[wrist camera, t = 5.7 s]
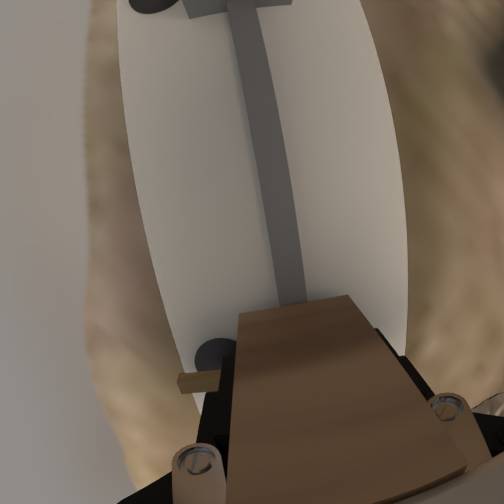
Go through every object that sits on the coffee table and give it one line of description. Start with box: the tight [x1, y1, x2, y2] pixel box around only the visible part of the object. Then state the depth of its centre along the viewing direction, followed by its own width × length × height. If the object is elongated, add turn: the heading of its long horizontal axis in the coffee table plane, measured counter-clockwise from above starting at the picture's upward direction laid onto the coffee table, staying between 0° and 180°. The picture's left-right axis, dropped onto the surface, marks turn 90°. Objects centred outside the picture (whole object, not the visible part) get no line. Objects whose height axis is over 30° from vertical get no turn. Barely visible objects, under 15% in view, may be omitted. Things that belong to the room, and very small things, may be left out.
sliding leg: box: [177, 294, 468, 504], centre depth 8 cm, size 5×7×8 cm
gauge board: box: [117, 0, 408, 415], centre depth 8 cm, size 22×10×7 cm, turn 10°
